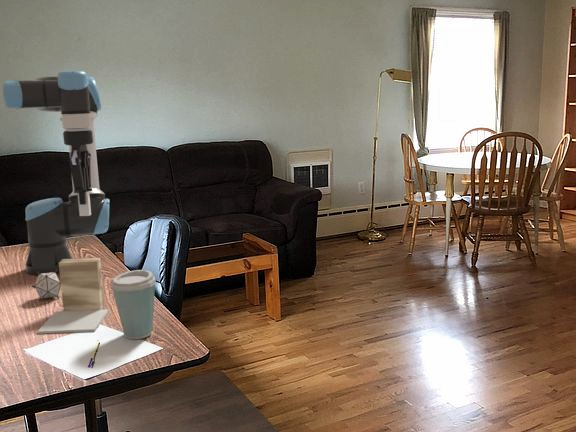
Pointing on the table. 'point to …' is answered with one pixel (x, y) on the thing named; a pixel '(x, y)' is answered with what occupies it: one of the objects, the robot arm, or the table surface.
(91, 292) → the wooden block
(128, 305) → the disposable coffee cup
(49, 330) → the mat
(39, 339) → the table surface
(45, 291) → the game die
